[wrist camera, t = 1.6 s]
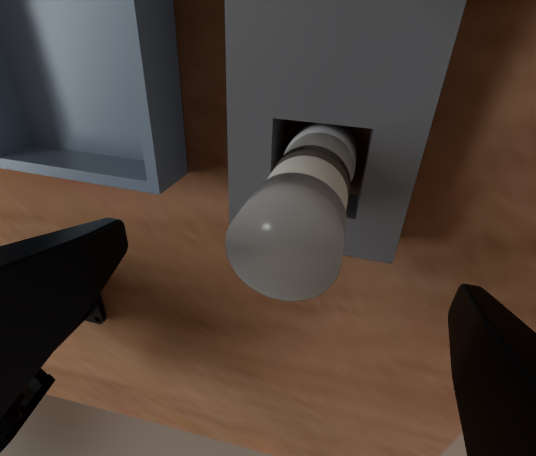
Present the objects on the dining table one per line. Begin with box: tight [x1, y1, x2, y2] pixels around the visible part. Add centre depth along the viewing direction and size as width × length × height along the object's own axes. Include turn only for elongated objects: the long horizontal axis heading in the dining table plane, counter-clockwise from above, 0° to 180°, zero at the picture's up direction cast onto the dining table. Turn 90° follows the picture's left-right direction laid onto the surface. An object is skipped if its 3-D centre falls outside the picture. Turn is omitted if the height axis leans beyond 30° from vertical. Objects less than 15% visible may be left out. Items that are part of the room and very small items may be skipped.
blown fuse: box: [225, 122, 357, 301], centre depth 13 cm, size 3×3×9 cm
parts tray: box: [0, 0, 188, 194], centre depth 15 cm, size 14×10×3 cm
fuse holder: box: [225, 0, 467, 264], centre depth 13 cm, size 17×8×2 cm, turn 178°
